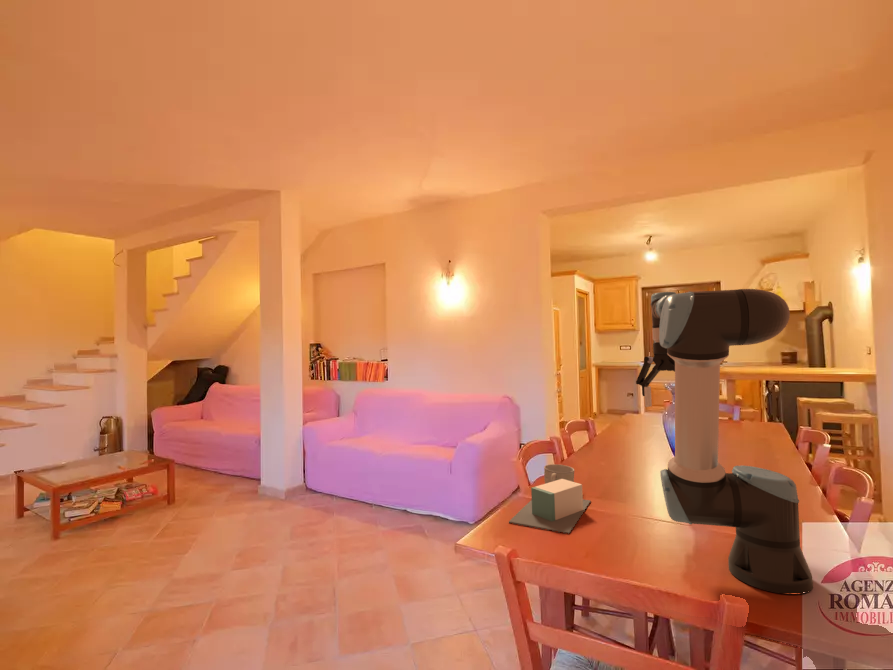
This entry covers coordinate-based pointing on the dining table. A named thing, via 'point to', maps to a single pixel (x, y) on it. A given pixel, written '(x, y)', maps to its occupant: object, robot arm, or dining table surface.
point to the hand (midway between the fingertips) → (669, 408)
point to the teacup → (558, 473)
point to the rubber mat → (559, 525)
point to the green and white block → (557, 499)
